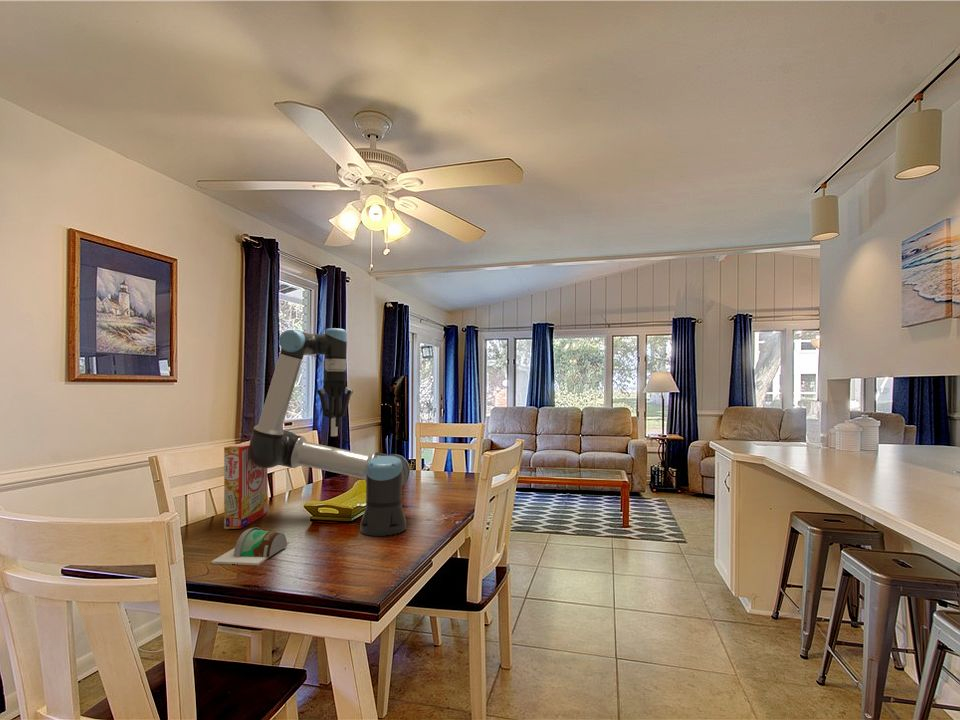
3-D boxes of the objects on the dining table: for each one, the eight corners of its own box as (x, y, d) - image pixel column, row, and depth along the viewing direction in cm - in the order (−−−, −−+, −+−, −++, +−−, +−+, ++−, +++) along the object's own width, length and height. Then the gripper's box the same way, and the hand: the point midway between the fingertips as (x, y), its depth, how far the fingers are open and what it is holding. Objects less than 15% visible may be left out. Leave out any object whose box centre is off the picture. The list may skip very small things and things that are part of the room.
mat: (288, 543, 150) (288, 541, 151) (257, 565, 133) (257, 563, 133) (247, 542, 151) (247, 540, 152) (211, 563, 134) (211, 561, 134)
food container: (266, 536, 136) (233, 534, 138) (266, 558, 136) (232, 556, 137) (290, 523, 148) (259, 521, 150) (289, 544, 148) (258, 542, 149)
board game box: (242, 529, 164) (241, 446, 165) (223, 529, 164) (222, 447, 165) (268, 513, 185) (267, 439, 186) (251, 513, 185) (250, 440, 186)
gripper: (314, 370, 178) (312, 436, 177) (349, 370, 177) (348, 437, 176) (322, 371, 186) (320, 434, 185) (356, 371, 185) (355, 435, 184)
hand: (334, 435), depth 181 cm, fingers closed
